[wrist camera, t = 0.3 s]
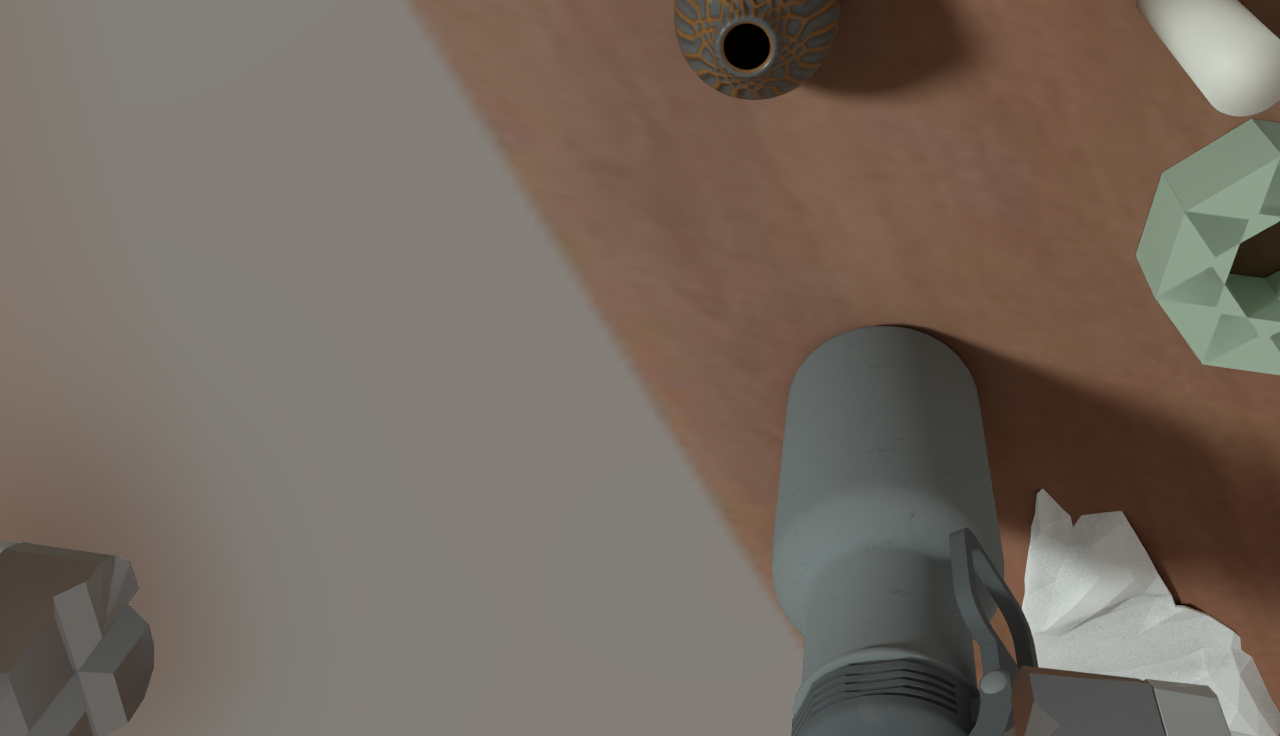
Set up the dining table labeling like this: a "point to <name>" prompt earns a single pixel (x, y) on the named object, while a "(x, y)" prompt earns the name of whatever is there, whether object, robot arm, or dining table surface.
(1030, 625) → the cloth
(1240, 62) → the dowel
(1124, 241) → the dining table surface
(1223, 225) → the bead
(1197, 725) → the robot arm
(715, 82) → the vase
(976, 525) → the water bottle
